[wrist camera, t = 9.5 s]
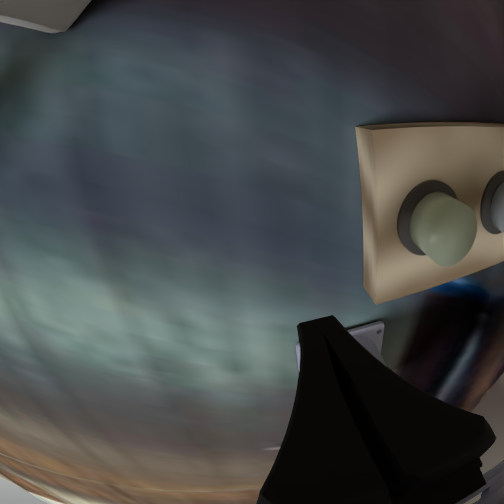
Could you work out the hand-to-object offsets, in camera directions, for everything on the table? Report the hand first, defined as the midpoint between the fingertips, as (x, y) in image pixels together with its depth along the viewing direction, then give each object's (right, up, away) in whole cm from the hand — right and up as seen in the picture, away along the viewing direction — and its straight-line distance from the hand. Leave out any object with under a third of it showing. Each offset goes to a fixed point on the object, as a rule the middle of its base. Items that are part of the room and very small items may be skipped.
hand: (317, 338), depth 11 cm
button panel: (+17, +8, +8) cm, 21 cm away
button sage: (+9, +5, +6) cm, 12 cm away
